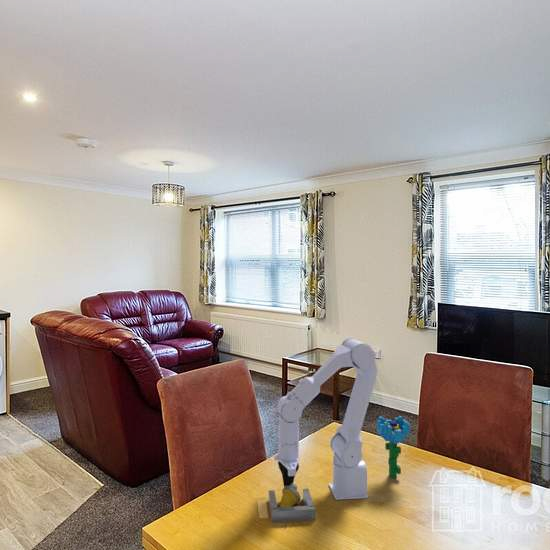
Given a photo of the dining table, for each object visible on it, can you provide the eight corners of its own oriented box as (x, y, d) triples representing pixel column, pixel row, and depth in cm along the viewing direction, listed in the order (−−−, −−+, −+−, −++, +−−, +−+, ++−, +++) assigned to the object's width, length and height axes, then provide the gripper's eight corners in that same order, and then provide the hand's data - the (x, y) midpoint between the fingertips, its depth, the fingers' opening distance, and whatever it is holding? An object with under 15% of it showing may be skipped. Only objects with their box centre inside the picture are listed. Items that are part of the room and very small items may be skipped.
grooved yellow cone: (294, 492, 114) (274, 521, 107) (286, 477, 114) (266, 504, 106) (308, 495, 111) (289, 524, 103) (301, 479, 110) (281, 507, 103)
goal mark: (265, 500, 112) (265, 499, 112) (268, 518, 104) (268, 517, 104) (257, 500, 111) (257, 500, 111) (259, 518, 103) (259, 517, 103)
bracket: (308, 499, 112) (308, 488, 112) (315, 520, 103) (315, 509, 103) (268, 501, 111) (268, 490, 111) (271, 523, 102) (271, 511, 102)
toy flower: (374, 470, 129) (374, 414, 128) (401, 469, 129) (401, 413, 129) (383, 485, 120) (384, 425, 119) (412, 484, 120) (413, 424, 120)
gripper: (271, 430, 119) (271, 475, 119) (277, 452, 104) (276, 504, 105) (295, 429, 120) (295, 474, 120) (303, 451, 105) (303, 502, 105)
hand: (288, 488), depth 112 cm, fingers closed, pressing on grooved yellow cone
